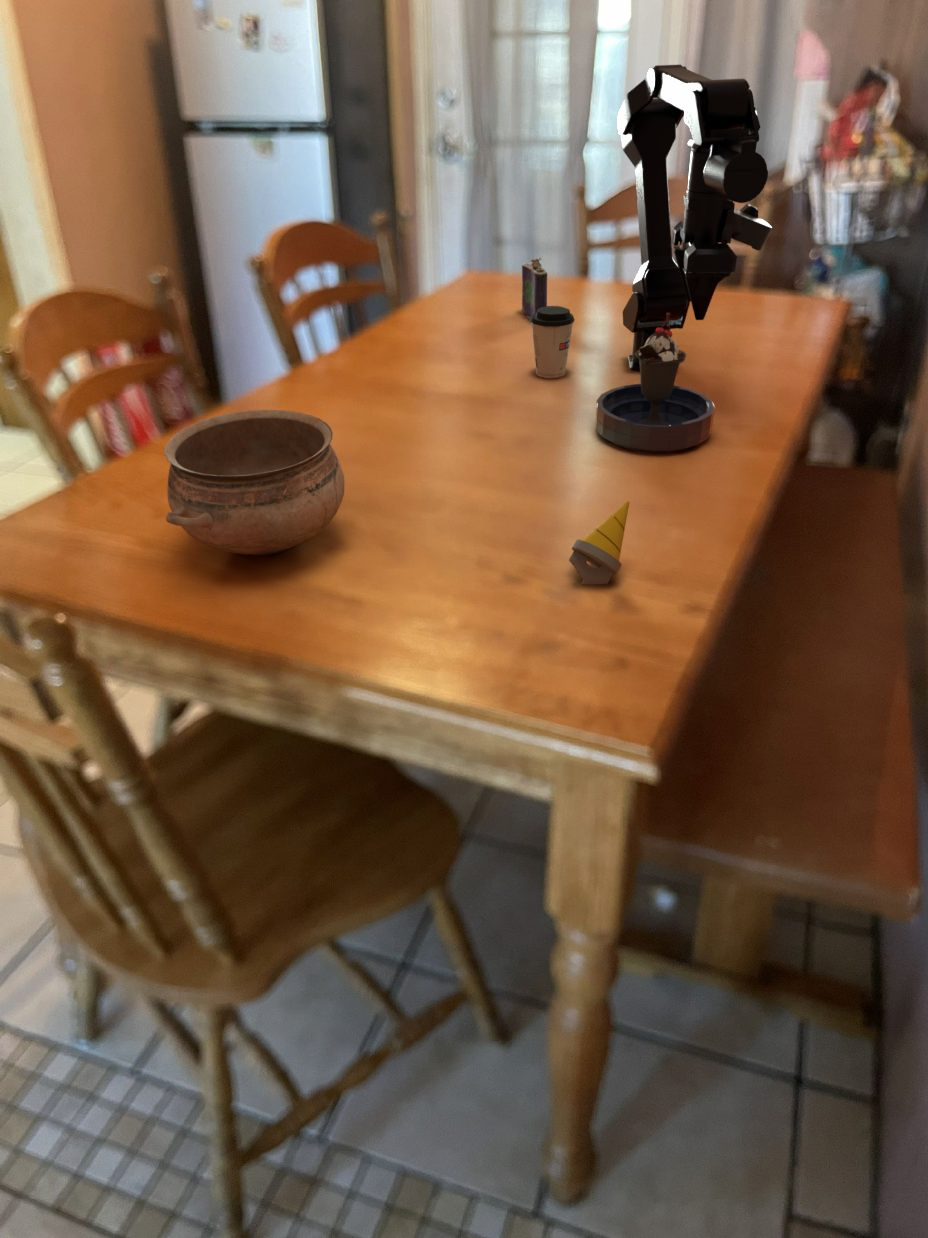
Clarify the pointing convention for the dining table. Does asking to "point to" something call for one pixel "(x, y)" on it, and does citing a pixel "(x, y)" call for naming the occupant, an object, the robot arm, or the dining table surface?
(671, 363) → the sundae
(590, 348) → the dining table surface
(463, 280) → the dining table surface
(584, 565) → the drill bit
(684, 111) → the robot arm
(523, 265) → the flask
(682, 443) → the bowl
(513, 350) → the dining table surface
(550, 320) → the coffee cup
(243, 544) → the cooking pot
